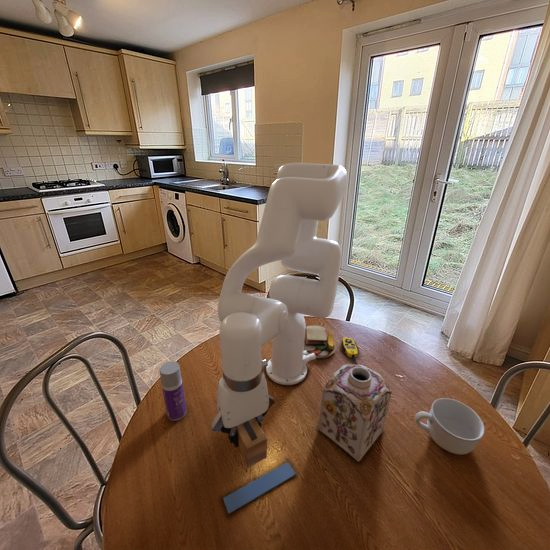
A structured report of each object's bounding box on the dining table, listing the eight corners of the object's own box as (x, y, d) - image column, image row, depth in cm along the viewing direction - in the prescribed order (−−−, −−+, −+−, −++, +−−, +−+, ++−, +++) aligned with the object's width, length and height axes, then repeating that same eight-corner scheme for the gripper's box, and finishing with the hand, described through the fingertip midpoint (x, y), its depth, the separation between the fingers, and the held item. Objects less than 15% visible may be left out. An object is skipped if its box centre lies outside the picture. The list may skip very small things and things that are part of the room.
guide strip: (288, 462, 64) (288, 461, 64) (295, 475, 62) (295, 474, 62) (223, 499, 57) (222, 498, 57) (228, 514, 55) (228, 513, 55)
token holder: (226, 421, 68) (224, 403, 66) (243, 414, 70) (242, 395, 67) (247, 468, 59) (246, 448, 56) (266, 457, 61) (266, 438, 58)
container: (180, 422, 72) (173, 376, 66) (163, 418, 73) (154, 373, 67) (189, 407, 77) (183, 362, 70) (173, 404, 77) (165, 359, 71)
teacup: (468, 428, 73) (477, 404, 70) (480, 469, 64) (492, 445, 60) (408, 411, 77) (414, 389, 74) (411, 448, 68) (419, 424, 64)
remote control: (353, 336, 103) (366, 366, 90) (353, 341, 104) (365, 370, 90) (340, 336, 103) (350, 365, 89) (339, 340, 104) (350, 370, 90)
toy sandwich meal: (298, 357, 95) (298, 346, 93) (300, 333, 107) (301, 322, 105) (336, 362, 94) (338, 350, 92) (334, 336, 106) (336, 325, 104)
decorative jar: (343, 402, 79) (352, 349, 72) (383, 430, 72) (398, 374, 64) (315, 429, 71) (322, 373, 64) (357, 464, 64) (371, 405, 56)
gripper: (271, 348, 63) (270, 408, 71) (193, 376, 55) (202, 439, 63) (290, 371, 57) (286, 433, 65) (205, 405, 50) (213, 471, 57)
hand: (245, 435), depth 64 cm, fingers closed on token holder, 4 cm apart
